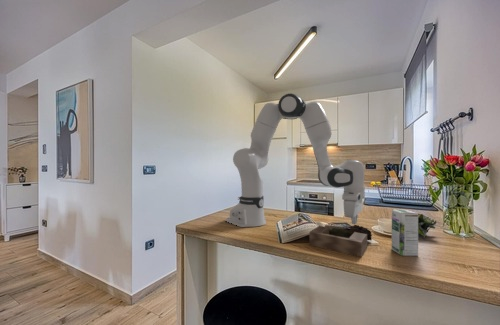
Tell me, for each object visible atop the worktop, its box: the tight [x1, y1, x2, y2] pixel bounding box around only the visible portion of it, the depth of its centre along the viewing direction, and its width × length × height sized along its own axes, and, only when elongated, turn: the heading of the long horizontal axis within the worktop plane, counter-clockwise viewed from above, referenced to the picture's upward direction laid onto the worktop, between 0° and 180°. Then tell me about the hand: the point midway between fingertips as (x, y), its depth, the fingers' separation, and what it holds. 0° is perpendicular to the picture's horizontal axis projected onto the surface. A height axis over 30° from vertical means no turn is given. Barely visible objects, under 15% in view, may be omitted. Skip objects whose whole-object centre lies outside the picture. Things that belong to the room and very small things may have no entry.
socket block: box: [308, 225, 368, 258], centre depth 81 cm, size 18×10×5 cm, turn 52°
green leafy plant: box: [417, 212, 437, 240], centre depth 91 cm, size 11×11×12 cm
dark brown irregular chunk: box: [324, 224, 373, 242], centre depth 90 cm, size 18×7×6 cm, turn 59°
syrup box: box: [391, 208, 419, 257], centre depth 75 cm, size 6×6×14 cm
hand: (354, 223), depth 102 cm, fingers closed
